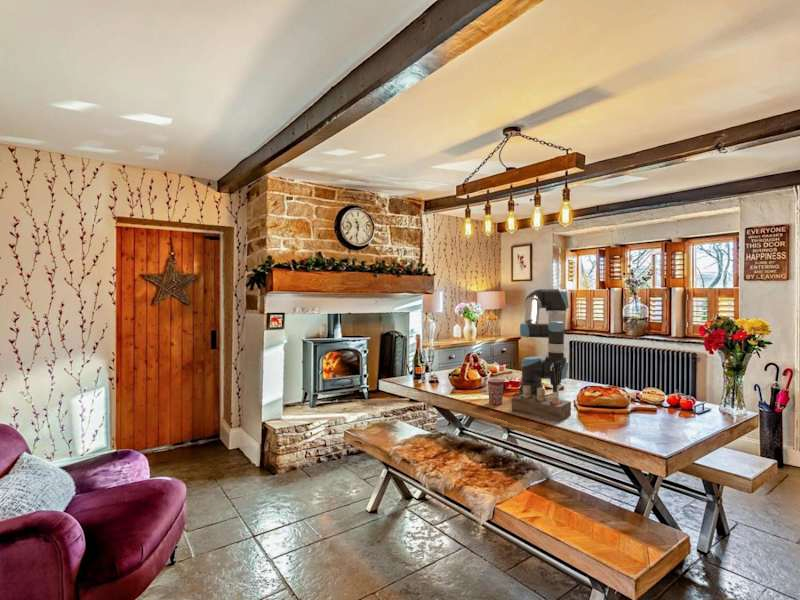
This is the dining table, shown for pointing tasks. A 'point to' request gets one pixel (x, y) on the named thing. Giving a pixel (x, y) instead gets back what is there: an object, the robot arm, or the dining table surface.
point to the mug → (496, 391)
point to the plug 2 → (555, 400)
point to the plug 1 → (526, 392)
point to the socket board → (541, 407)
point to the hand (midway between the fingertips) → (555, 397)
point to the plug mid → (541, 394)
